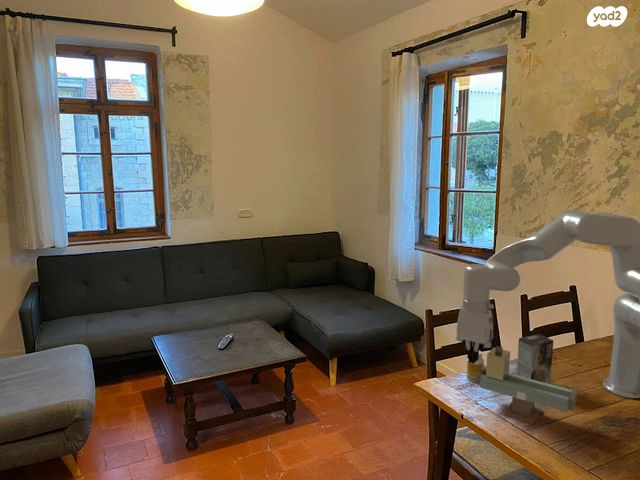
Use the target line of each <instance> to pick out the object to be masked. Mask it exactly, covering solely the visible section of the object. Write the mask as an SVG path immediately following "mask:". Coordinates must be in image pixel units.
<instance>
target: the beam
mask: <svg viewBox="0 0 640 480" xmlns="http://www.w3.org/2000/svg"><path fill="white" fill-rule="evenodd" d="M475 384H476V385H479V388H481V389H484V390H487V391H488V390H489V391H491V392H494V393H498V394H502V395H506V396H508V397H512V398H511V399H512V401H511V402H510V403H509V404H508V405H509V406H508V407H507V408H506V410H505V411H504V416H506V417H509V418H512V419H515V420H519V421H521V422H525V423H528V424H531V425H535V422H536V420H537V419H538V417H539V415H540V413H541V412H542V407H541V406H544V407H547V408H551V409H555V410H558V411H560V412H561V411H562V412H566V413H568V411H571V412H572V411H574V408H575V405H576V403H577V401H578V392H579V389H577V388H572V389H570V388H566V387H562V386H558V385H554V384H551V383H550V384H547V383H543V382H540V381H536V380H532V379H528V378H524V377H520V376H516V374H512V373H510V372H509V373H508V375H507V376H506V377H505V380H503V381H502V380H499V379H495V378H491V377H488V376H486V365H484V366H483V367H482V368H481V369H480V371H479V372H478V373H477V374H476V382H475ZM536 404H537V405H540V406H537V405H536Z"/></svg>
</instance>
